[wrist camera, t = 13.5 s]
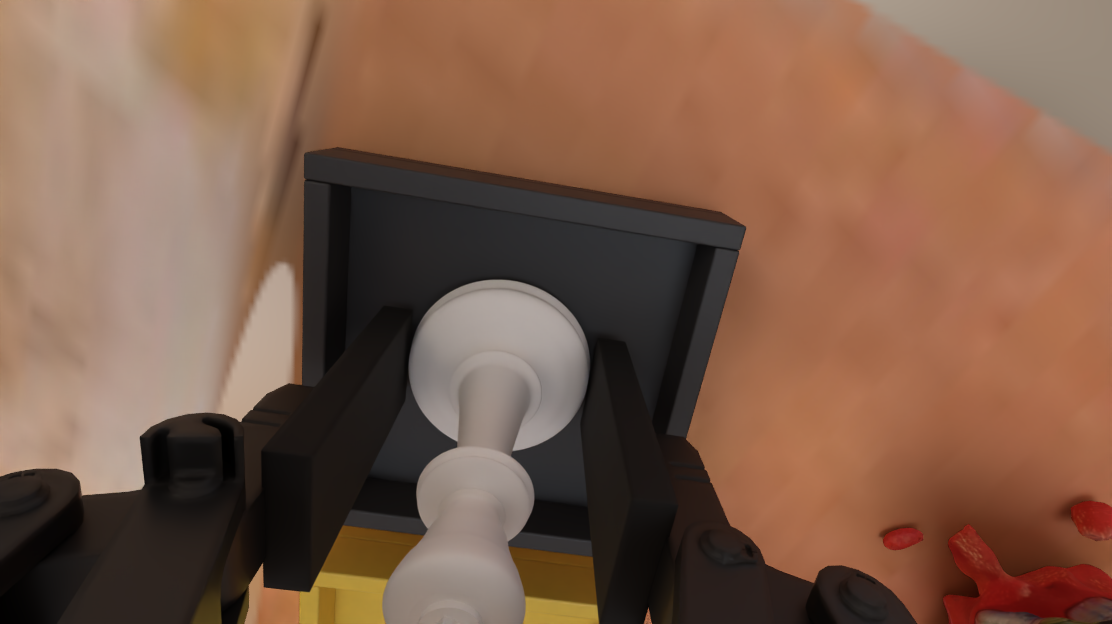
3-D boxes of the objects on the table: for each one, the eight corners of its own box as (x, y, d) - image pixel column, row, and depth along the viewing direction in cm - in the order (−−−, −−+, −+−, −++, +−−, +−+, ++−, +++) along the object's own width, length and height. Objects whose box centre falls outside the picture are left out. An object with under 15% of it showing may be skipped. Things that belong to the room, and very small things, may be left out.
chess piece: (478, 241, 14) (334, 509, 5) (626, 349, 15) (751, 742, 6) (376, 379, 15) (103, 805, 6) (519, 469, 16) (479, 950, 7)
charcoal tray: (336, 146, 14) (303, 152, 12) (722, 212, 15) (747, 226, 13) (326, 476, 17) (299, 520, 16) (640, 518, 18) (650, 565, 16)
